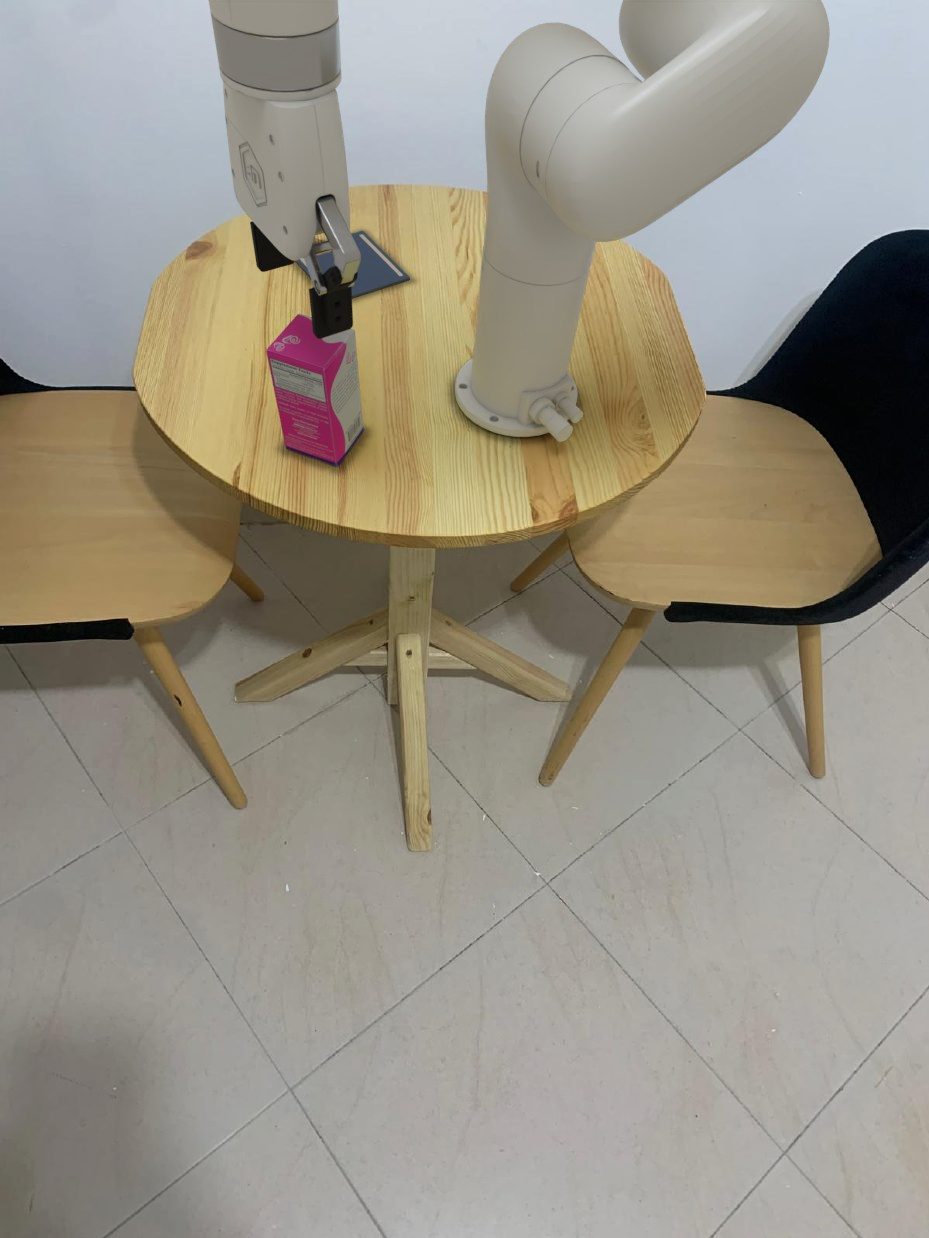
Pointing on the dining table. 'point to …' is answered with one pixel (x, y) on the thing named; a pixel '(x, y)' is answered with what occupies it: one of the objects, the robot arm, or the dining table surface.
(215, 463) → the dining table surface
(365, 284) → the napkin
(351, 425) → the supplement box
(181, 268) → the dining table surface
